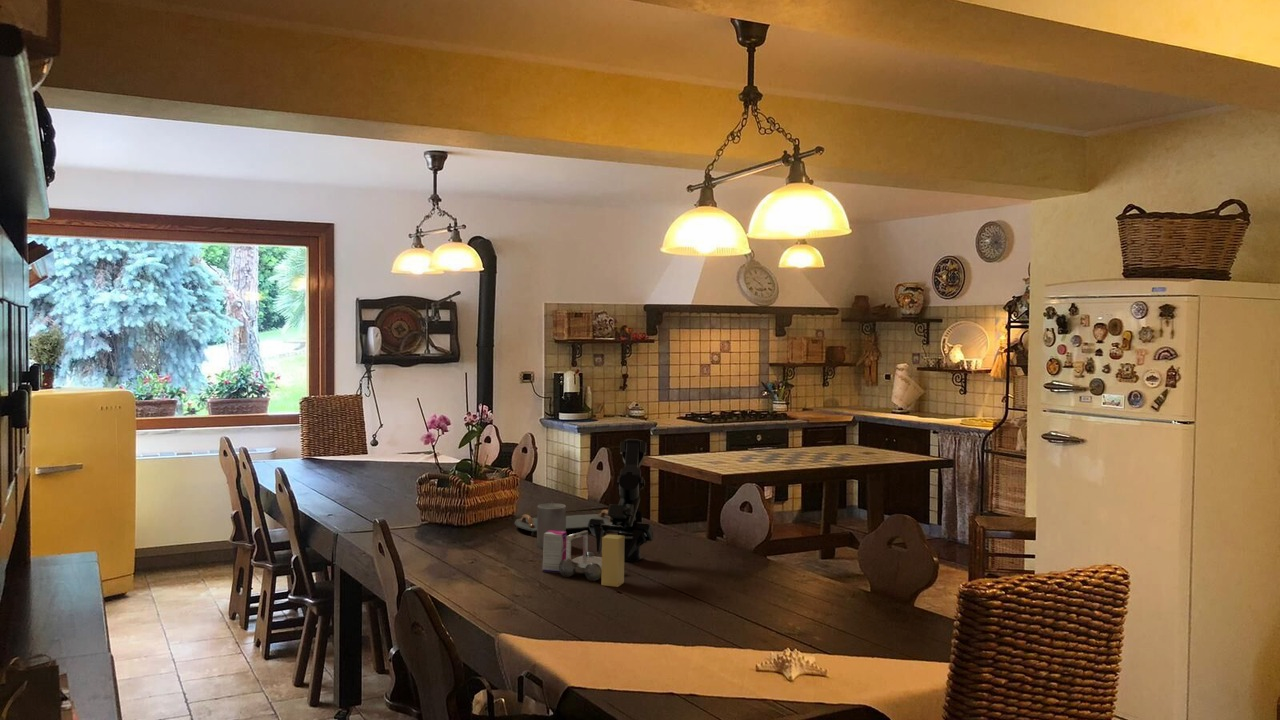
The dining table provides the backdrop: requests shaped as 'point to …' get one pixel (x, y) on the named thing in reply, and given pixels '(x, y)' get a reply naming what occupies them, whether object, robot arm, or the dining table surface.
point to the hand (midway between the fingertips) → (612, 554)
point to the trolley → (581, 559)
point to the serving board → (571, 521)
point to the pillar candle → (550, 520)
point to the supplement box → (554, 550)
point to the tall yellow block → (613, 560)
